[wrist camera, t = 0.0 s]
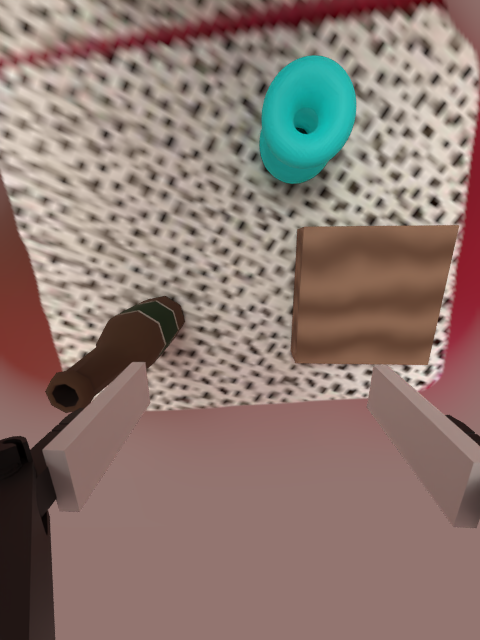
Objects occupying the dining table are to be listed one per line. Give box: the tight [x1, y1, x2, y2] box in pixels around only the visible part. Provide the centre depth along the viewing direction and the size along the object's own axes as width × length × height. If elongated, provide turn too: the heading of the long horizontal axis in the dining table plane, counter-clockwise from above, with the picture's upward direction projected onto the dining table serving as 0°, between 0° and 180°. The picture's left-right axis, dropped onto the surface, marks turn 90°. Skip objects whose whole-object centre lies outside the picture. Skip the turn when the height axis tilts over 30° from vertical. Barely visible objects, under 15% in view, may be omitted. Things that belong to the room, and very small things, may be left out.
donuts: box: [260, 55, 356, 184], centre depth 30 cm, size 10×10×10 cm
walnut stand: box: [291, 225, 459, 365], centre depth 38 cm, size 20×20×5 cm
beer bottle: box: [45, 296, 185, 413], centre depth 32 cm, size 8×8×24 cm
